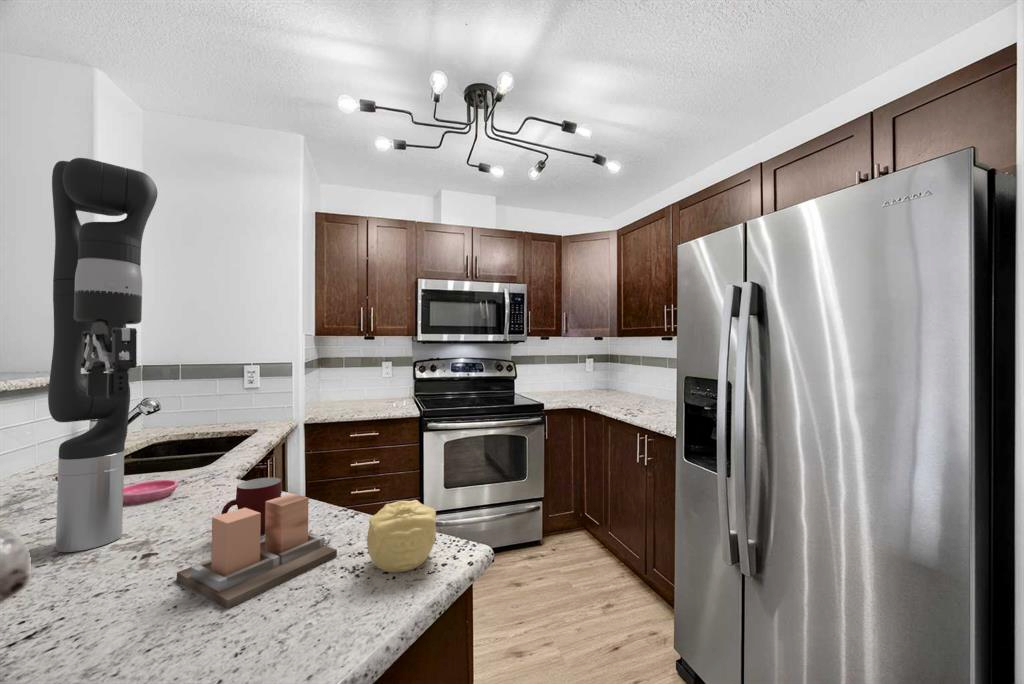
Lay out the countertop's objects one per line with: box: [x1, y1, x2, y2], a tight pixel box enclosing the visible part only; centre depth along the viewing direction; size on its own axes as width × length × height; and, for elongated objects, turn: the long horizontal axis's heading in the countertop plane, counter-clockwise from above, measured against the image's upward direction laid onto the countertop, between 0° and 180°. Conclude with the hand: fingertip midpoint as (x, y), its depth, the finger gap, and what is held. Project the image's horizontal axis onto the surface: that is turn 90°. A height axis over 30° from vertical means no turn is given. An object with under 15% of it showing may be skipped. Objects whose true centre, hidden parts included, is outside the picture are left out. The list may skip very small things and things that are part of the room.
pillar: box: [210, 508, 261, 577], centre depth 68 cm, size 5×5×9 cm
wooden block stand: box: [176, 493, 338, 610], centre depth 71 cm, size 16×18×10 cm
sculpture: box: [366, 499, 437, 573], centre depth 73 cm, size 12×12×11 cm
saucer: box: [123, 479, 179, 505], centre depth 109 cm, size 12×12×3 cm
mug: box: [220, 477, 283, 535], centre depth 85 cm, size 10×8×10 cm
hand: (106, 397), depth 64 cm, fingers open, 8 cm apart
